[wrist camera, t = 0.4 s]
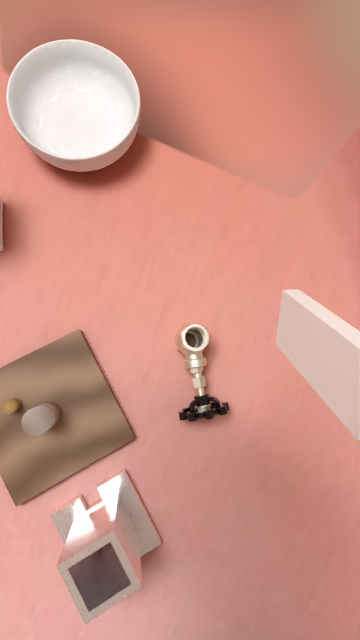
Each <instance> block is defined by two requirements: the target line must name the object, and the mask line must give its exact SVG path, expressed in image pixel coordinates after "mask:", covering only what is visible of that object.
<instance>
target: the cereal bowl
mask: <svg viewBox="0 0 360 640" xmlns="http://www.w3.org/2000/svg"><path fill="white" fill-rule="evenodd" d="M7 107H8V112H9V115H10V118H11V120H12V123H13V125H14V127H15V129H16V130H17V132H18V134H19V135H20V136H21V138H22V140H23V141H24V142H25V143H26V145H27V146H28V147H29V148H30V149H31V150H32V151H33V152H34V153H35V154H36V155H38V156H39V157H40V158H41V159H43V160H44V161H45V162H48V163H49V164H51V165H53V166H56V167H58V168H61V169H64V170H69V171H78V172H84V171H86V172H87V171H94V170H98V169H101V168H104V167H106V166H108V165H110V164H112V163H113V162H115V161H116V160H118V159H119V158H120V157H121V156H122V155H123V154H124V153H125V152H126V151H127V150H128V148H129V147H130V145H131V144H132V142H133V140H134V138H135V136H136V133H137V130H138V126H139V122H140V112H141V109H140V108H141V103H140V94H139V89H138V85H137V83H136V81H135V78H134V76H133V74H132V72H131V71H130V70H129V68H128V67H127V65H126V64H125V63H124V62H123V61H122V60H121V59H120V58H119V57H117V56H116V55H115V54H114V53H112V52H111V51H109V50H107V49H105V48H103V47H101V46H99V45H96V44H93V43H90V42H87V41H82V40H73V39H72V40H71V39H69V40H57V41H53V42H48V43H46V44H43V45H40V46H38V47H37V48H35V49H33V50H31V51H30V52H29V53H28V54H26V55H25V56H24V57H23V58H22V59H21V60H20V61H19V62H18V64H17V65H16V67H15V68H14V70H13V72H12V74H11V76H10V78H9V82H8V86H7Z"/></svg>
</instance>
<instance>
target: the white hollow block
mask: <svg viewBox="0 0 360 640" xmlns="http://www.w3.org/2000/svg"><path fill="white" fill-rule="evenodd" d="M98 490H99V492H100V494H101V496H102V499H100V500H98V501H97V502H95V503H93V504H92V505H90V506H87V504H86V502H85V500H84V498H83V496H82V494H81V495H79V496H77V497H76V498H74V499H72V500H70V501H69V502H67V503H65V504H64V505H62V506H60V507H59V508H57V509H55V510H54V511H53V512H52V514H51V517H52V519H53V521H54V523H55V525H56V527H57V529H58V532H59V534H60V536H61V538H62V540H63V542H64V544H65V545H64V548H63V551H62V553H61V556H60V559H59V561H58V564H57V568H58V570H59V572H60V574H61V576H62V578H63V580H64V582H65V584H66V586H67V588H68V590H69V592H70V594H71V596H72V598H73V600H74V603H75V605H76V607H77V609H78V611H79V613H80V615H81V617H82V619H83V621H84V623H85V624H87V623H88V622H90V621H91V620H93V619H94V618H96V617H97V616H99V615H100V614H102V613H103V612H105V611H106V610H108V609H109V608H111V607H112V606H114V605H115V604H117V603H118V602H120V601H121V600H123V599H124V598H126V597H127V596H129V595H130V594H132V593H133V592H135V591H136V590H138V589H139V588H141V587H142V576H141V557H142V556H143V555H145V554H146V553H148V552H150V551H151V550H153V549H154V548H156V547H157V546H159V545H160V544H161V539H160V536H159V534H158V532H157V530H156V528H155V526H154V524H153V522H152V521H151V519H150V517H149V515H148V513H147V511H146V509H145V507H144V505H143V503H142V501H141V499H140V497H139V495H138V493H137V491H136V489H135V487H134V485H133V483H132V481H131V479H130V477H129V475H128V473H127V471H126V469H123V470H121V471H120V472H118V473H116V474H115V475H113V476H111V477H109V478H108V479H106V480H104V481H103V482H101V483H99V484H98ZM109 542H111V544H109V545H108V546H106V547H105V548H103V549H101V550H99V549H100V548H101V547H103V546H105V545H106V544H108V543H109Z"/></svg>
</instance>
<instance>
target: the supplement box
mask: <svg viewBox="0 0 360 640" xmlns="http://www.w3.org/2000/svg"><path fill="white" fill-rule="evenodd" d="M3 250H4V248H3V201H2V200H1V199H0V251H3Z"/></svg>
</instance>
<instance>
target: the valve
mask: <svg viewBox="0 0 360 640" xmlns="http://www.w3.org/2000/svg"><path fill="white" fill-rule="evenodd" d="M187 332H188V333H191V334H193V335H194V337H195V339H196V344H195V346H194V347H191V346H189V345H188V344H187V342H186V339H185V336H186V333H187ZM175 343H176V348H177V350H178V351H180V352H182V353H183V354H184V355H185V358H186V361H184V367H185V369H190V373H192V374H193V378H191V380H192V385H193V388H196V390H197V395H196V396H194V400H193V401H192V402H191V403H190V406H189V408H184V409H183V411H181V412H179V417H180V420H187V419H188V421H190V422H191V421H196V420H197V419H198V418H205V419H212V418H214V415H217V414H219V415H224V414H227V411H228V410H229V405H228V402H224V403H222V404H223V406H220V402H219V400H218V399H217V398H215V397H209V394H205V392H204V387H205V386H207V385H206V380H205V376H202V371H204V369H203V366H205V365H207V361H206V358H204V357H203V354H202V351H203V349H204V348H205V347H206V346H207V345H208V344H209V343H210V342H209V336H208V331H207V328H206V327H203V326H201V325H198V324H195V323H191V324H186V325H184V326H182V327H181V328H180V329H179V330H178V331H177V333H176V336H175ZM210 401H213V403H210ZM210 405H211V406H210ZM195 406H196V409H195V408H194V407H195Z"/></svg>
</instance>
